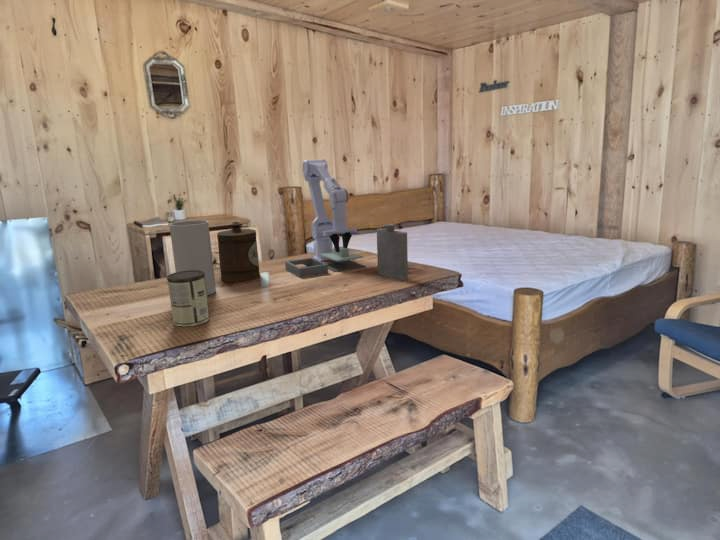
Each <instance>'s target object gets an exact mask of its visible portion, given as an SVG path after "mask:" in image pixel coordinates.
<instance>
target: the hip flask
mask: <svg viewBox="0 0 720 540" xmlns="http://www.w3.org/2000/svg"><path fill="white" fill-rule="evenodd" d="M395 226H396V225H395V223H387V224H386V223H385V224H384V227H385V228H381V227H380V228H376V250H377V252H376V254H377V255H376V256H377V274H378V275H379V276H381V275H382V276H381V277H384V276H385V277H384V278H387V277H388V279H390V278H391V280H394V279H395V281H399V280H400V281H401V282H407V281H408V280H409V276H408V275H409V271H408V269H409V266H408V265H409V264H408V260H409V259H408V258H409V257H408V232H406V231H397V230H395ZM406 280H407V281H406Z"/></svg>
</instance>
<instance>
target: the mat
mask: <svg viewBox="0 0 720 540" xmlns="http://www.w3.org/2000/svg"><path fill="white" fill-rule="evenodd" d="M325 263H326V264H328V270H330V271H332V272H334V273H337V272H343V271H349V270H355V269H361V268H366V267H367V266H366V265H364V264H362V263H359V262H356V261H353V260H347V261H338V262H336V261H329V262H325Z"/></svg>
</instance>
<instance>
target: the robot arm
mask: <svg viewBox="0 0 720 540" xmlns="http://www.w3.org/2000/svg"><path fill="white" fill-rule="evenodd" d="M328 168H329V167H328V162H327V161H326V159H325V158H322V159H305V160H303V163H302V173H303V177H304V180H305V182H307V184H308V188H309V193H310V197H311V201H312V206H313V210H314V211H313V213H314V215H315V218H314V220H313V221H312V222H311V224H310V229H311V232H310V233H311V236H312V238H313V239H314V242H313V254H314V255H313V256H312V257H311V258H314V259H316V260H319V261H321V262H323V261H325V262H326V261H332V260H331V259H328V258H326V257H323V256H321V255H320V254H323V253H330V252H334V247H335V251H336V252H339V246H340V239H341V240H342V247H344V248H347V249H349V248H348V246H349V243H350V240H351V238H352V236H353V235H352V233H353V234H354V233H358V229H357V227H348V221H347V220H348V219H347V203H348V201H349V192H348V190H347V189H346V188H344V187H341V186H340V184H339V182H338V181H337V179H336V178H335V177H332V176H331V175H330V173H329V170H328ZM321 182H323V188H324V189H325V191H326V192H327V194H328V195H329V196H328V200H329V203H330V208H331V210H332V211H331V213H332V218H330V217H329V216H327V212H326V211H327V210H326V206H325V202H324V196H323V192H322V188H321ZM339 235H341V237H340V236H339Z"/></svg>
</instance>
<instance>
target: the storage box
mask: <svg viewBox="0 0 720 540" xmlns="http://www.w3.org/2000/svg"><path fill="white" fill-rule="evenodd" d="M326 263H327V262H323V261H319V260H317V259H315V258H312V257H308V258H306V257H305V258H299V259H294V260H287V261H284V266H285V270H286V271H287V272H289V273H291V274H292V273H293V275H294V274H295V275H294V276H296V277H298V278H300V277H301V278H306V276H307V277H311V276H312V275H314V276H319V275H318V274H320V275H324V273H326V274H329V269H328V264H326ZM312 277H313V276H312Z"/></svg>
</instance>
